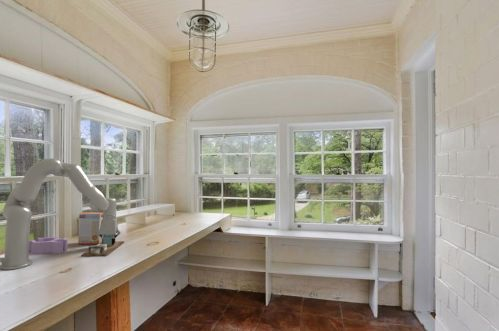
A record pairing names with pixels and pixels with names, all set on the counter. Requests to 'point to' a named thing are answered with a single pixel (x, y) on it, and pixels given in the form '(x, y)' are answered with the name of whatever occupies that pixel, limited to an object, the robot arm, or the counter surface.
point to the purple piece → (48, 245)
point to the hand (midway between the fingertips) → (108, 244)
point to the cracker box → (89, 228)
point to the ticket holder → (102, 249)
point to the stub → (107, 240)
